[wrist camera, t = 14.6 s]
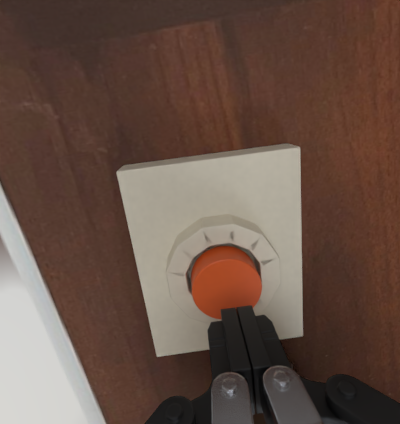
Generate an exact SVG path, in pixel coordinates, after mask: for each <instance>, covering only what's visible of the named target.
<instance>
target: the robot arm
mask: <svg viewBox="0 0 400 424" xmlns="http://www.w3.org/2000/svg"><path fill="white" fill-rule="evenodd" d="M220 311H221V320H222V321H215V322H211V323H210V326H209V328H208V330H207V331H208V341H209V351H210V360H211V370H212V383H211V385H210V387H209V389H208V390H207V391H206V392H205V393H204V394H203V395H202V396H200V397H198V398H196V399H194V400H192V401H190V400H189V399H187V398H185V397H182V396H173V397H170V398H168V399H166V400H165V401H163V402H162V403H161V404H160V405H159V407H158V408H157V409H156V410H155V412H154V413H153V414H152V415H151V416H150V418H149V419H148V420H147V421H146V423H145V424H254V420H253V414H255V408H256V412H257V414H259V413H263V414H264V418H265V422H266V424H400V403H398V402H396V401H395V400H393V399H391V398H389V397H388V396H386V395H384V394H382V393H381V392H379V391H377V390H375V389H374V388H372V387H370V386H368V385H366V384H365V383H363V382H361V381H359V380H358V379H356V378H354V377H352V376H349V375H344V374H337V375H333V376H331V377H330V378H329V379H328V380H327V382H326V383H321V382H314V381H309V380H307V379H304V378H302V377H300V376H299V375H298V374H297V373H296V372H295V371H294V370H293V369H292V368H291V366H290V364H289V361H288V359H287V356H286V354H285V351H284V349H283V347H282V344H281V342H280V339H279V337H278V335H277V332H276V330H275V327H274V325H273V323H272V321H271V320H270V319H269V318H268V317H267V316H265V315H258V316H255V313H254V310H253V307H252V305H248V306H241V307H236V308H235V307H234V308H226V309H220ZM254 404H255V406H254Z"/></svg>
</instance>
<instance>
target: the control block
mask: <svg viewBox="0 0 400 424" xmlns="http://www.w3.org/2000/svg"><path fill="white" fill-rule="evenodd" d="M116 173H117V178H118V182H119V187H120V191H121V196H122V200H123V205H124V209H125V214H126V219H127V223H128V228H129V232H130V237H131V241H132V246H133V251H134V255H135V260H136V264H137V269H138V273H139V278H140V282H141V287H142V292H143V296H144V301H145V305H146V310H147V314H148V319H149V323H150V328H151V333H152V337H153V342H154V346H155V351H156V355H157V357H160V356H167V355H174V354H181V353H188V352H195V351H202V350H209V341H208V331H207V330H208V328H209V326H210V323H211V322H215V321H222V320H221V319H215V318H212V317H209V316H208V315H206V314H204V313H203V312H202V311H201V310H200V309H199V308H198V307H197V306H196V304H195V302H194V300H193V296H192V284H191V272H192V268H193V266H194V264H195V262H196V260H197V259H198V258H199V257H200V256H201V255H202V254H203V253H205V252H206V251H208V250H210V249H212V248H215V247H220V246H230V247H235V248H238V249H240V250H242V251H244V252H245V253H246V254H247V255H248V256H249V257H250V258H251V259H252V261H253V263H254V265H255V267H256V270H257V272H258V274H259V276H260V278H261V282H262V292H261V296H260V298H259V301H258V302H257V304H256V305H255V306H254V308H253V310H254V313H255V316H258V315H265V316H267V317H268V318H269V319H270V320H271V321H272V323H273V325H274V327H275V330H276V332H277V335H278V337H279V339H280V340H281V339H288V338H295V337H302V336H303V298H302V231H301V164H300V147H298V146H295V145H291V144H288V143H287V144H279V145H272V146H264V147H257V148H249V149H242V150H234V151H227V152H219V153H212V154H204V155H197V156H190V157H182V158H175V159H167V160H160V161H152V162H145V163H137V164H130V165H124V166H122V167H121V168H120V169H119V170H118V171H117V172H116Z"/></svg>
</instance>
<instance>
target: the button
mask: <svg viewBox="0 0 400 424" xmlns="http://www.w3.org/2000/svg"><path fill="white" fill-rule="evenodd" d="M191 284H192V296H193V300H194V302H195V304H196V306H197V307H198V308H199V309H200V310H201V311H202V312H203V313H204V314H206V315H208V316H209V317H212V318H215V319H221V311H220V309H226V308H234V307H235V308H236V307H241V306H248V305H252V307H253V308H254V306H255V305H256V304H257V302H258V301H259V298H260V296H261V292H262V282H261V278H260V276H259V274H258V272H257V270H256V267H255V265H254V263H253V261H252V259H251V258H250V257H249V256H248V255H247V254H246V253H245V252H244V251H242V250H240V249H238V248H235V247H230V246H220V247H215V248H212V249H210V250H208V251H206V252H205V253H203V254H202V255H201V256H200V257H199V258H198V259H197V260H196V262H195V264H194V266H193V268H192V272H191Z"/></svg>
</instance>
